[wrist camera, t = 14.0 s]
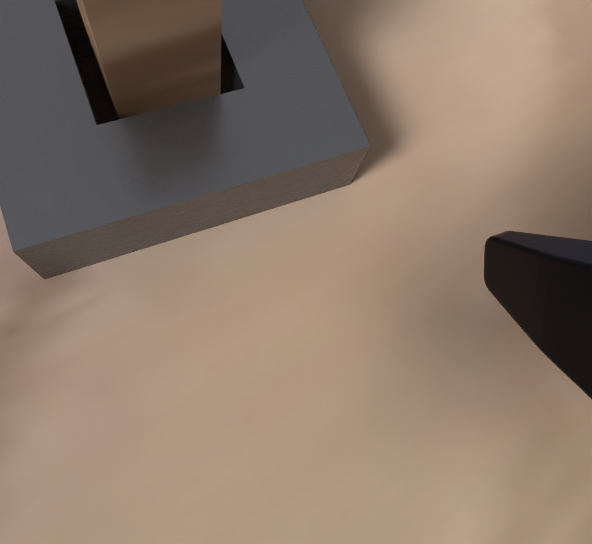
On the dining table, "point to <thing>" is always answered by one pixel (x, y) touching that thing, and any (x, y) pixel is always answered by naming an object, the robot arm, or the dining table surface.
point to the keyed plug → (155, 51)
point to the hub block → (163, 137)
